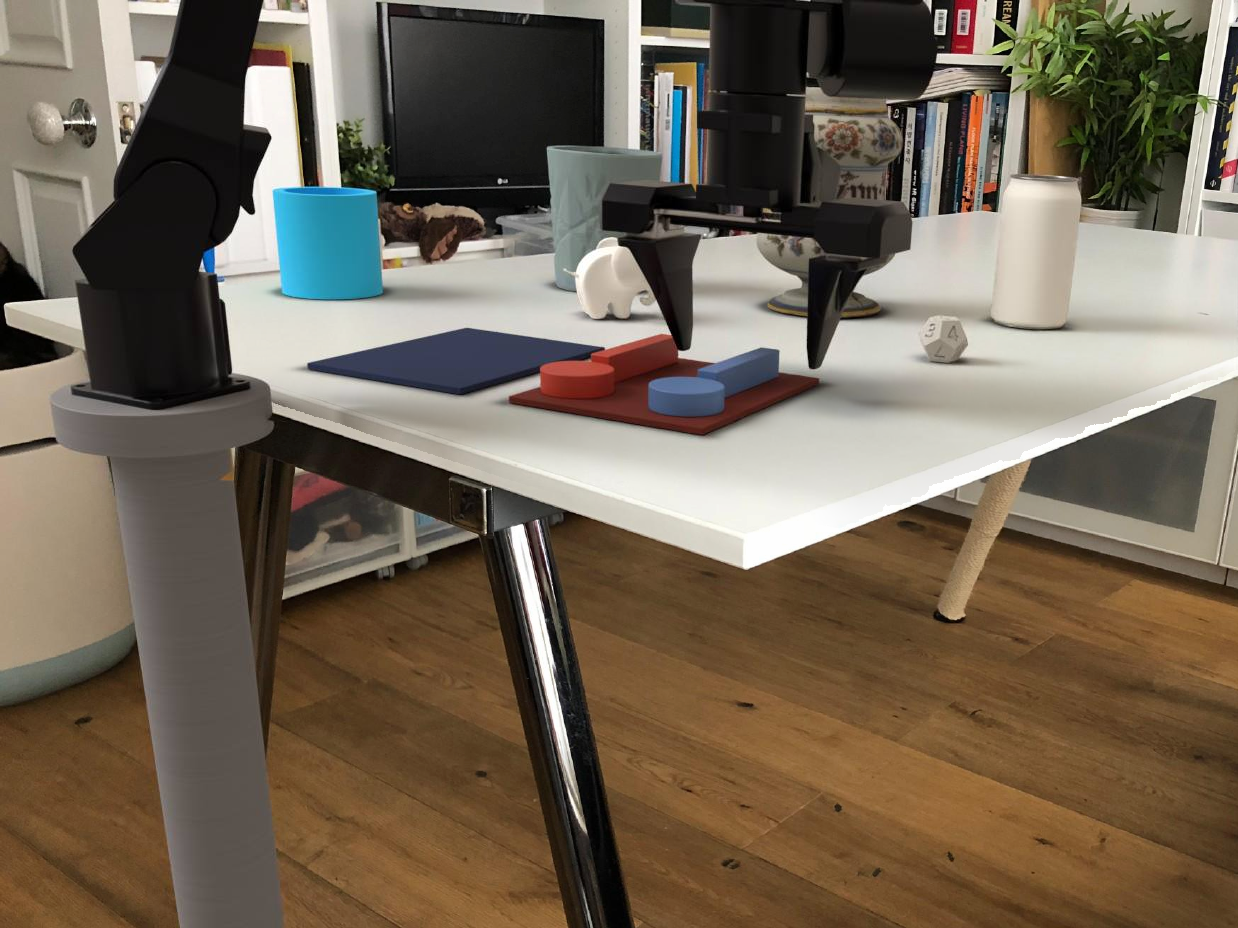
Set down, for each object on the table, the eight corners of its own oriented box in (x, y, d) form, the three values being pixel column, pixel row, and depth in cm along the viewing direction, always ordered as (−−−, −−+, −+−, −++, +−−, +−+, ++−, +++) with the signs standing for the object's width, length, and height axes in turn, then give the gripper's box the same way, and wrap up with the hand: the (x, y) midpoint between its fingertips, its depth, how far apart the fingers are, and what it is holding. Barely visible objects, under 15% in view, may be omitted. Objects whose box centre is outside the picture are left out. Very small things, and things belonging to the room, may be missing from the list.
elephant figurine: (672, 323, 104) (673, 246, 102) (572, 324, 102) (571, 246, 99) (651, 308, 110) (651, 236, 108) (556, 309, 108) (554, 235, 105)
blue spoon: (701, 421, 73) (702, 389, 73) (633, 410, 75) (634, 379, 74) (799, 380, 85) (801, 352, 84) (739, 371, 86) (740, 344, 86)
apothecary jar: (885, 301, 120) (900, 91, 113) (899, 323, 109) (916, 92, 102) (753, 295, 120) (761, 84, 113) (754, 317, 108) (762, 84, 102)
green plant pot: (546, 277, 124) (543, 144, 119) (652, 278, 126) (653, 147, 122) (554, 294, 115) (551, 150, 110) (668, 295, 117) (670, 154, 113)
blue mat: (460, 394, 78) (460, 388, 78) (307, 369, 83) (306, 363, 83) (605, 353, 92) (605, 347, 92) (466, 333, 97) (466, 327, 96)
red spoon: (588, 403, 76) (588, 372, 76) (525, 392, 78) (524, 362, 77) (698, 365, 88) (698, 338, 87) (641, 357, 89) (641, 330, 89)
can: (1072, 332, 109) (1091, 181, 105) (995, 328, 109) (1011, 177, 105) (1059, 319, 115) (1076, 176, 111) (985, 315, 115) (999, 172, 111)
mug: (391, 298, 109) (385, 196, 106) (287, 300, 106) (278, 195, 103) (367, 277, 119) (360, 183, 116) (271, 279, 116) (262, 182, 113)
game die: (951, 354, 98) (955, 313, 96) (974, 364, 94) (979, 322, 93) (908, 355, 96) (912, 314, 95) (930, 365, 93) (934, 323, 92)
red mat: (702, 435, 72) (702, 428, 72) (508, 402, 77) (508, 396, 77) (819, 384, 86) (819, 378, 86) (648, 359, 91) (648, 353, 91)
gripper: (952, 103, 80) (930, 357, 86) (685, 89, 87) (681, 324, 93) (886, 102, 71) (867, 387, 76) (593, 86, 78) (595, 348, 83)
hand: (748, 359), depth 82 cm, fingers open, 9 cm apart
